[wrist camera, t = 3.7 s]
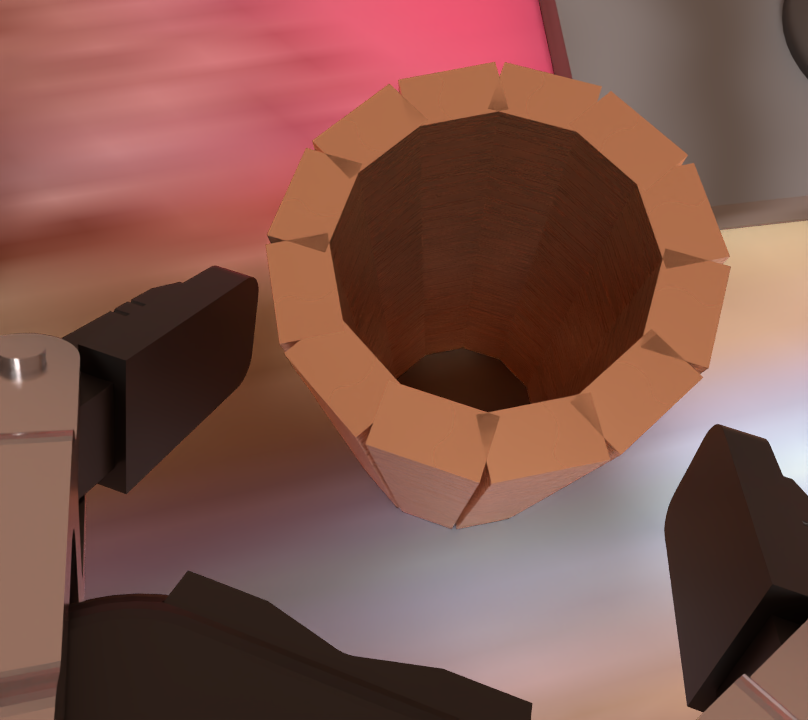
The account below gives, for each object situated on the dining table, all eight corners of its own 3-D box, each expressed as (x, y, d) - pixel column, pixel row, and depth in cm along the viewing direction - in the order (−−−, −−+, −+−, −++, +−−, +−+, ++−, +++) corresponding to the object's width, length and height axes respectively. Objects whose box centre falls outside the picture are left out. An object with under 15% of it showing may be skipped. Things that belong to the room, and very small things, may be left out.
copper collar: (326, 484, 17) (197, 386, 8) (396, 299, 19) (361, 26, 9) (530, 556, 16) (669, 547, 7) (585, 357, 18) (760, 126, 8)
